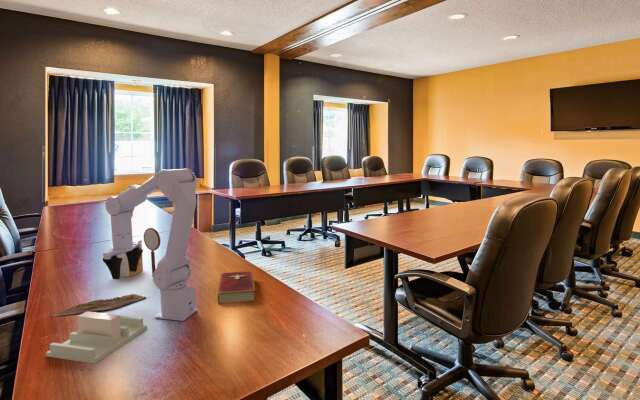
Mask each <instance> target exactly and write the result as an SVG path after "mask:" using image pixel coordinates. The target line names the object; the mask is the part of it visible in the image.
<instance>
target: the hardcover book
mask: <svg viewBox="0 0 640 400" xmlns="http://www.w3.org/2000/svg"><path fill="white" fill-rule="evenodd" d="M219 278H220V280H219V286H218V293H217V304H218V305H219V304H225V303H226V304H227V303H235V302H236V303H237V302H247V301H251V300H252V301H255V292H256V287H255V277H254V271H253V270H245V271H242V270H241V271H229V272H227V271H226V272H225V271H224V272H221V273H220V277H219ZM252 301H251V302H252Z"/></svg>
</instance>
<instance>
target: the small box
mask: <svg viewBox="0 0 640 400" xmlns="http://www.w3.org/2000/svg"><path fill="white" fill-rule="evenodd" d="M133 242H141V248H139V249H143V248H142V246H143V244H142V240H141V239H133ZM117 257H118V258H123V259H122V262H121V267H120V277H128V278H129V277H132V276H133V275H136V274H139V273H141V272H143V271H144V268H143V267H144V266H143V265H144V264H143V263H144V262H143V253H142V254H141V256H140V259H139V262H138V266H137V271H136V272H132V271H130V270H129V264H128V259H127V256H126V253H123V254H120V255H117Z"/></svg>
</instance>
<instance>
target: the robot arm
mask: <svg viewBox="0 0 640 400" xmlns="http://www.w3.org/2000/svg"><path fill="white" fill-rule="evenodd" d="M197 183H198V178H197V176H196V175H195V173H194V171H193V170H191V169H190V168H187V167H186V168H176V169H175V168H174V169H160V170H159V171H156V172H154V173H153V176H151V177H150V178H149V179H147V180H146V181H145V182H143V183H142V184H141V185H138V184H130V185H128V186H127V189H125V190H124V191H120V192H119V193H118V194H117V195H116V196H114V195H110V196H109V197H107V198H106V200H105V205H104V207H105V210H106V212H107V214H108V215H110V226H111V229H110V230H111V239H112V246H110V249H108V250H106V251H104V252H103V253H102V261H103V262H104V264H105V265H106V267H107V268H108V271H109V272H110V275H111V277H112V280H120V279H121V276H120V267H121V262H122V259H123V258H118V257H117V255H120V254H123V253H126V256H127V259H128V264H129V270H130V271H132V272H136V271H137V266H138V262H139V259H140V256H141V254H142V255H143V253H144V249H143V248H142V249H139V248H141V243H142V241H141V242H133V240H134V239H133V227H132V226H133V224H132V218H133V216H134V211H135V208H136V207H138V206H139V205H141V204H143V203H144V202H146V201H147V199H148V196H149V195H151V194H153V193H154V192H157V191H160V192H161V193H162V194H163V196H165V197H166V199H167V200H169V202H171V203H173V204H174V208H173V209H174V210H173V215H172V218H171V225H170V230H169V234H168V235H169V236H168V240H167V246H166V251H165V255H164V256H163V257H162V258H161V259H160V260H159V261H158V262H157V266H156V267H155V271H154V273H153V277H152V280H153V282H154V283H153V284H154V285H155V286H156V287H157V289H158V290H159V292H160V308H161V309H160V310H161V311H160V312H159V313H158V314H156V315H155V316H154V318H155V319H161V320H170V321H180V322H182V321H185V320H187V319H188V318H190V317H191V316H192V315H193V314H194V313H196V312H197V311H198V308H197V305H196V291H195V289H194V287H192V286H189V285H187V284H188V280H189V279H190V277H191V275H192V270H191V262H192V261H191V259H190V258H189V257H188V256H186V254H187V251H188V246H189V245H188V244H189V240H190V236H191V232H192V231H191V230H192V225H193V221H194V216H195V211H196V207H197V194H196V189H197V185H198V184H197Z"/></svg>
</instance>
